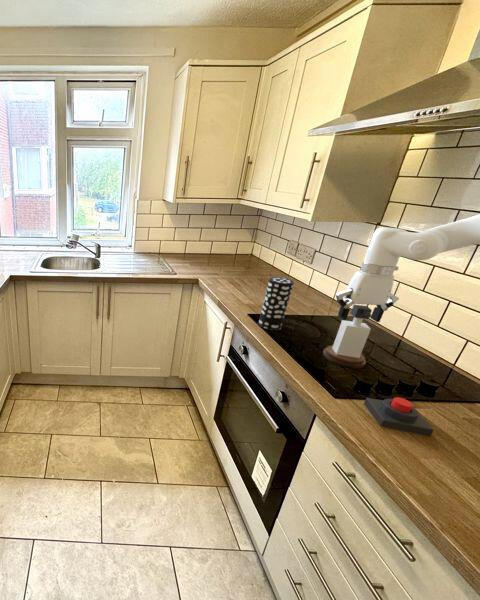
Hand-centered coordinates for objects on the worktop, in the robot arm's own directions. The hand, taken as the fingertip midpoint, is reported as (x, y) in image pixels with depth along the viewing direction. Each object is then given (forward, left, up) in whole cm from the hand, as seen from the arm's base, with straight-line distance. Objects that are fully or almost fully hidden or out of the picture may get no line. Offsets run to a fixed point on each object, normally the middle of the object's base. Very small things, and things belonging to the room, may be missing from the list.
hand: (358, 319), depth 103 cm
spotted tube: (+19, -20, -15) cm, 32 cm away
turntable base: (0, 0, -15) cm, 15 cm away
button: (-1, +30, -12) cm, 32 cm away
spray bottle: (0, 0, -14) cm, 14 cm away
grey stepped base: (-1, +30, -15) cm, 34 cm away
